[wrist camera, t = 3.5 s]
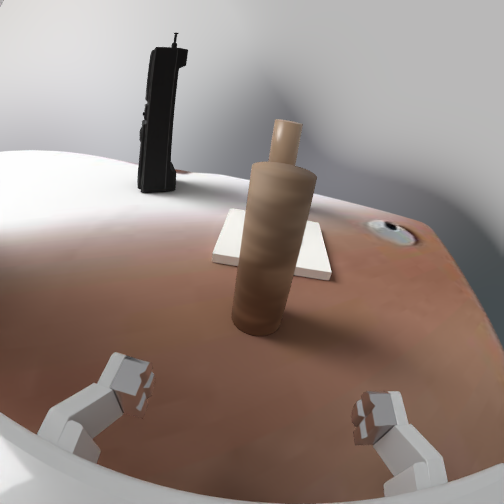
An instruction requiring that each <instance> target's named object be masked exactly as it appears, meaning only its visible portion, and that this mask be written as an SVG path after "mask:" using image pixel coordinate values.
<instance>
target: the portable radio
mask: <svg viewBox="0 0 504 504" xmlns="http://www.w3.org/2000/svg"><path fill="white" fill-rule="evenodd" d="M174 34H175V37H174V43H172V48H170V47H168V48H167V47H156V48H155V49H154V50H153V51H152V52H151V55H150V63H149V71H148V79H147V88H146V100H147V102H148V103H147V104H146V105H145V112H143V115H144V119H145V120H143V121H142V128H141V129H140V141H141V145H140V156H139V157H140V158H139V168H138V188H139V189H141V192H143V193H144V192H164V191H171V190H175V185H176V171H175V169H174V167H173V164H172V163H171V145H172V144H171V143H172V130H173V118H174V106H175V97H176V88H177V79H178V71H179V68H181V67H183V66H186V61H187V53H188V50H187V49H182V48H176V47H177V43H176V37H177V34H178V33H174Z"/></svg>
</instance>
